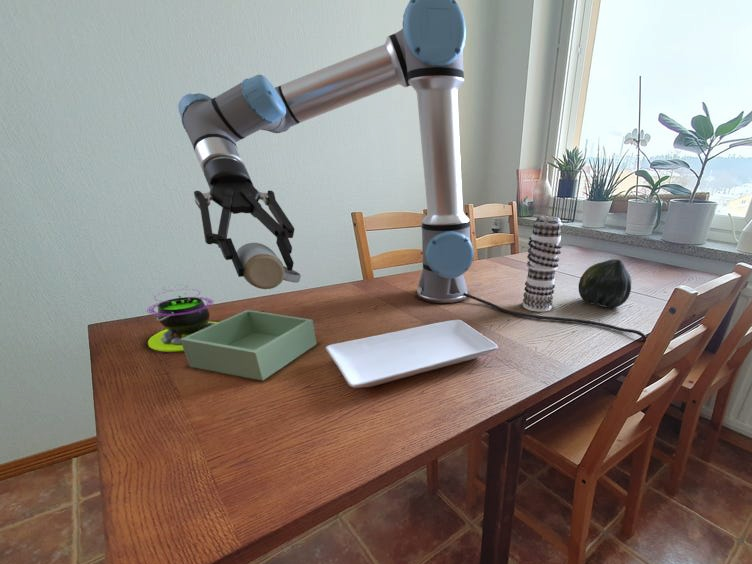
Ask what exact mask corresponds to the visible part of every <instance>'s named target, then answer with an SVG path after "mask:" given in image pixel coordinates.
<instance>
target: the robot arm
mask: <svg viewBox="0 0 752 564" xmlns="http://www.w3.org/2000/svg"><path fill="white" fill-rule="evenodd" d="M466 28H467V27H466V20H465V16H464V14H463V11H462V9H461V7H460V5H459V3H457V1H456V0H409V2H408V3H407V5H406V7H405V9H404V12H403V16H402V28H401V29H400V30H398V31H397V32H395V33H393V34H390V35H387V36H386V40H385V43H384V44H382V45H379V46H376V47H374V48H371V49H368V50H367V51H364V52H361V53H359V54H355V55H354V56H351V57H348V58H346V59H344V60H341V61H339V62H336V63H333V64H331V65H328V66H326V67H322V68H321V69H317V70H316V71H313V72H311V73H308V74H305V75H303V76H300V77H298V78H295V79H293V80H290V81H288V82H285V83H283V84H281V85H278V86H274V85H273V84H272V82H270V80H269V79H268V78H267V77H266V76H265V75H263V74H256V75H254V76H252V77H249V78H245V79H243V80H242V81H241V82H240V83H238V84H236V85H234V86H232V87H231V88H229V89H227V90H226V91H224V92H222V93H220V94H218V95H217V96H215V97H210V96H209V95H207V94H204V93H200V92H197V93H187V94H185V95H184V96H182V97H181V98H180V100H179V101H178V105H177V107H178V113H179V116H180V120H181V124H182V127H183V129H184V130H185V132H186V135H187V137H188V139H189V141H190V143H191V145H192V148H193V151H194V153H195V155H196V158H197V161H198V163H199V166H200V168H201V170H202V172H203V176H204V178H205V181H206V183H207V185H208V188H209V192H202V191H200V190H195V191H193V196H194V202H195V204H196V206H197V207H198V208H199V211H200V216H201V222H202V229H203V236H204V241H205V244H207V245H213V244H214V245H217V247H218V248H219V249H220V251H221V253H222V256H223V258H224V259H225V260H226V261H231V262H232V264H233V267H234V268H235V272H236V273H237V276H238V278H242V277H243V266H242V264H241V262H240V259H239V257H238V254H237V249H236V247H235V245H234V242H233V239H232V238H231V237H228V233H229V229H230V228H229V227H230V222H231V218H232V214H233V215H237V214H241V213H242V214H250V215H251V216H252V217H253V218H255V219H257V220H258V221H259V222H260V223H261V224H262V225H263V226H264V227H265V229H266V228H267V230H268V231H269V232H270V233H271V234H272V235H273V236H275V237H276V246H277V248H278V250H279V253H280V255H281V257H282V260H283V262H284V265H285V267H287V269H288V271H289V270H294V269H293V268H294V263H295V262H294V260H293V257H292V255H291V254H292V252H293V246H292V244H291V241H290V239H293V238H294V235H295V227H294V225H293V224H292V223H291V221H290V220H289V218H288V216H287V215H286V213H285V212H284V210H283V209H282V207H281V206H280V204H279V202H278V201H277V199H276V195H275V192H274V191H273V190H267V192H260V191H259V190H258V189H257V188H256V187H255V186H254V183H253V181H252V179H251V177H250V174H249V172H248V170H247V167H246V164H245V162H244V160H243V158H242V156H241V153H240V151H239V148H238V147H237V142H240V141H241V140H244V139H245V138H247V137H249V136H252V134H255V133H256V132H259V131H265V132H269V133H273V134H281V133H285V132H288V130H290V128H291V127H294V126H296V125H299V124H300V123H303V122H306V121H307V120H308V121H309V120H311V119H314V118H316V117H319V116H321V115H324V114H326V113H328V112H332V111H334V110H337V109H339V108H342V107H344V106H347V105H349V104H350V105H351V104H352V103H355V102H358V101H360V100H362V99H365V98H367V97H370V96H372V95H373V96H374V95H375V94H378V93H380V92H383V91H385V90H388V89H391V88H393V87H396V86H398V85H399V86H401V87H403V88H409V87H411V88H413V90H414V91H415V92H416V99H417V111H418V120H419V121H418V123H419V132H420V133H419V134H420V144H421V155H422V166H423V176H424V189H425V200H426V211H427V213H426V215H424V216H423V217H422V220H421V227H420V228H421V240H422V241H421V243H422V244H421V245H422V246H421V247H422V270H421V271H422V272H421V275H420V278H419V281H418V285H417V290H416V292H417V293H416V295H417V297H418V298H419V299H421V300H423V301H424V302H429V303H435V304H452V303H458V302H462V301H465V300H466V299H467V298H470V299H472V300H474V301H477V302H480V303H482V304H485V305H487V306H490V307H491V308H494V309H496V310H499V311H501V312H504V313H507V314H510V315H514V316H519V317H525V318H531V319H537V320H550V321H561V322H570V323H571V322H572V323H580V324H587V325H594V326H600V327H605V328H608V329H612V330H616V331H619V332H624V333H631V334H635V335H638V336H640V337H641V338H642V339H643V340H644V341H645V340H646V338H648V336H647V335H646V334H644V333H643V332H641V331H639V330H636V329H631V328H625V327H620V326H615V325H612V324H608V323H603V322H599V321H595V320H594V321H593V320H587V319H579V318H568V317H557V316H547V315H536V314H530V313H525V312H518V311H514V310H511V309H507V308H505V307H501V306H500V305H497V304H494V303H492V302H490V301H488V300H484V299H482V298H480V297H477V296H474V295H471V294H469V293H468V287H467V283H466V280H465V277H464V274H465V273H467V271H468V270H469V269H470V268H471V266H472V264H473V262H474V257H475V254H474V253H475V250H474V247H473V244H472V241H471V226H470V225H471V223H470V221H471V220H470V218H469V216H468V215H466V214H465V212H464V206H463V205H464V204H463V202H464V201H463V183H462V163H461V161H462V159H461V144H460V143H461V141H460V140H461V139H460V120H459V118H460V117H459V99H458V98H459V97H458V91H459V89H460V88H461V87H462V85H464V83H465V73H464V72H465V70H464V48H465V45H466V39H467V29H466ZM259 201H262V202H263V203H264V205H265V206H267V207H268V210H269V211H270V213H271V214H272V216H271V215H270V214H269V213H268V212H267V211H266V209H264V207H263V206H262V204H261V203H260V202H259ZM211 202H214V203H215V204H217V206H219V207H221V208H222V209H221V214H220V219H219V225H218V229H217V233H214V232H213V227H212V223H211V222H212V221H211V216H210V209H209V206H211ZM273 217H274V218H273ZM243 278H244V277H243Z"/></svg>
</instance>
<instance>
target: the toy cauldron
mask: <svg viewBox="0 0 752 564" xmlns="http://www.w3.org/2000/svg"><path fill="white" fill-rule="evenodd" d="M177 286H180V284H179V283H178V284H177ZM181 286H185V287H182V288H181V289H179V291H183V290H184V291H185V290H186V291H188V288H187V285H186V284H182V283H181ZM168 287H169V286H164V287H162V292H161V293H159V295H160V294H161V295H162V294H166V292H173V291H177V289H175V290H173V289H172V290H171V289H166V288H168ZM190 290H192V291H194V292H195V291H197V292H198V294H196V295H194V296H185V297H182V295H178V296H177V298H171V299H166V300H160V301H158V300H157V299H156V295H154V296H153V300H155V301H157V303H155V304H153V305H151V306H149V307H147V309H146V312H147V313H148V314H149V315H153V316H155V315H156V316H157V318H156V321H157V322H159V323H160V324H161V325H162V327H164V328H165V329H163V330H161V331H159V332H157V333H155V334H154V335H152V336H151V337H150V338H149V339H148V341H147V345H148V348H150V349H151V350H154V351H158V352H162V353H163V352H166V353H177V352H179V353H180V352H184V349H183V346H182V344H181V341H180V339H182V338H184V337H186V336H188V335H191V334H193V333H195V332H198V331H200V330H202V329H204V328H207V327H209V326H211V325H214V324H216V323H218V321H210V315H211V314H210V311H209V307H211V306H213V304H214V300H212V298H208V297H203V296H202V297H201V296H200V295H201V291H199V290H198V289H197V290H196V289H193V288H192V289H190ZM163 291H164V292H163ZM184 295H187V292H185V293H184ZM204 301H206V304H205V302H204ZM156 307H157V311H155V308H156Z"/></svg>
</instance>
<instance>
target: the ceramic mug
mask: <svg viewBox="0 0 752 564" xmlns="http://www.w3.org/2000/svg"><path fill="white" fill-rule="evenodd" d="M236 252H237V254H238V257H239V259H240V262H241V264H242V266H243V279H244V280H245V282H247V283H248V284H249V285H251V286H253V287H255V288H257V289H260V290H272V289H274V288H276V287H278V286H279V285H280V284H282V282H283V281H285V282H289V283H299V282H300V281H301V277H302V275H301V273H300V272H298V271H296V270H294V269H292V270H289V271H288V269H287V267H286V265H284V263H283V262H282V260H281V259H280V258H279V256H277V254H276V253H275V252H274V251H273V249H271V248H270V247H269V246H267V245H265V244H262V243H259V242H249V243H245V244H242V245H241V246H240V247H239V248H238V249H237V250H236Z"/></svg>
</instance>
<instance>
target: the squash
mask: <svg viewBox="0 0 752 564" xmlns="http://www.w3.org/2000/svg"><path fill="white" fill-rule="evenodd" d="M631 292H632V277H631V275H630V273H629V270H628V269H627V268H626V266H625V264H624V262H623V261H622V260H621V259H619V258H614V259H608V260H605V261H602V262H597V263H594V264H593V265H591V266H589V267H588V268H586V270H585V271H584V272H583V273H582V275H581V276H580V278H579V282H578V294H579V296H580V297H581V299H582V300H583V301H584V303H586V304H590V305H591V304H593V305H596V306H597V305H599V306H601V307H605V308H607V309H615V308H617V307H620V306H623V304H624V303H625V302H626V301H628V299H629V297H630V295H631Z"/></svg>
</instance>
